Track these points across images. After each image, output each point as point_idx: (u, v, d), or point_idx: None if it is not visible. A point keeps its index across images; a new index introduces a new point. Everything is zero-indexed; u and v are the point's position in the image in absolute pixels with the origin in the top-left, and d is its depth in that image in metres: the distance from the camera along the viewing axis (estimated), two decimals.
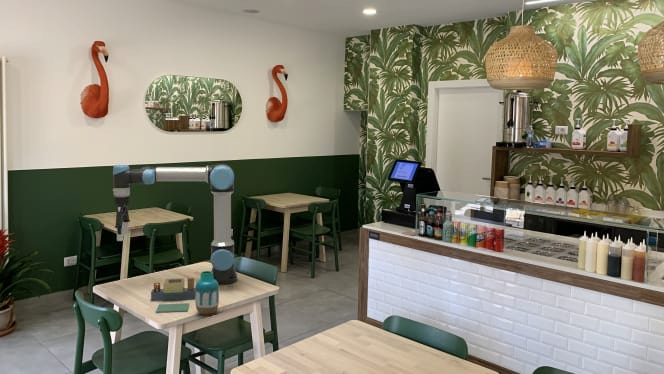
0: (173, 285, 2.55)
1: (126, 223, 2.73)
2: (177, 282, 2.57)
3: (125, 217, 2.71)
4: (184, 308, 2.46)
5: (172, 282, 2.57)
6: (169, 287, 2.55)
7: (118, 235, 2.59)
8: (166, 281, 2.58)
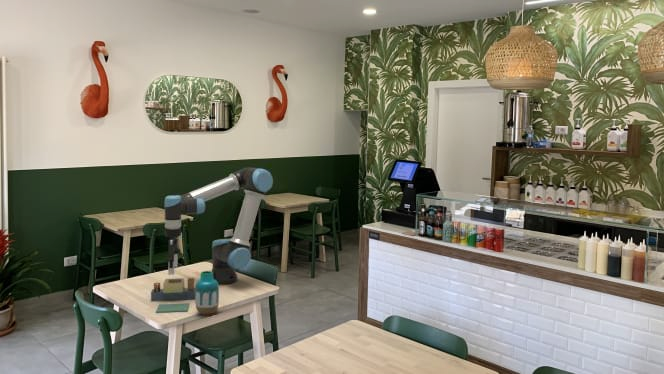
0: (173, 285, 2.55)
1: (175, 255, 2.64)
2: (177, 282, 2.57)
3: (175, 249, 2.63)
4: (184, 308, 2.46)
5: (172, 282, 2.57)
6: (169, 287, 2.55)
7: (170, 269, 2.51)
8: (166, 281, 2.58)
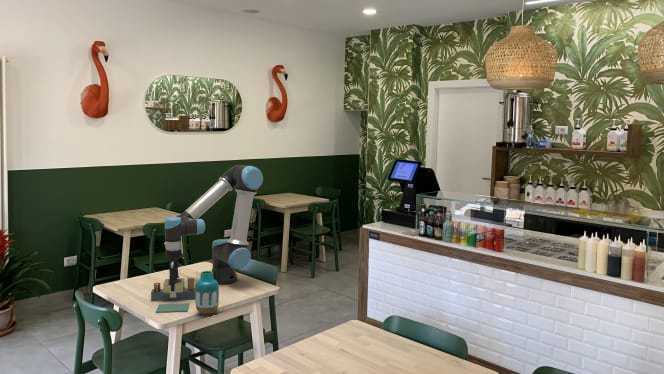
0: None
1: None
2: (177, 282, 2.57)
3: (175, 272, 2.62)
4: (184, 308, 2.46)
5: None
6: (169, 287, 2.55)
7: (171, 292, 2.55)
8: (166, 281, 2.58)
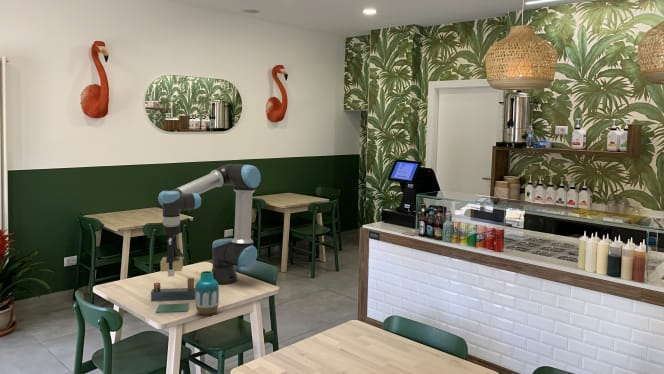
0: None
1: None
2: (175, 260, 2.42)
3: (173, 250, 2.47)
4: (184, 308, 2.46)
5: None
6: (166, 265, 2.40)
7: (169, 270, 2.40)
8: (163, 259, 2.43)
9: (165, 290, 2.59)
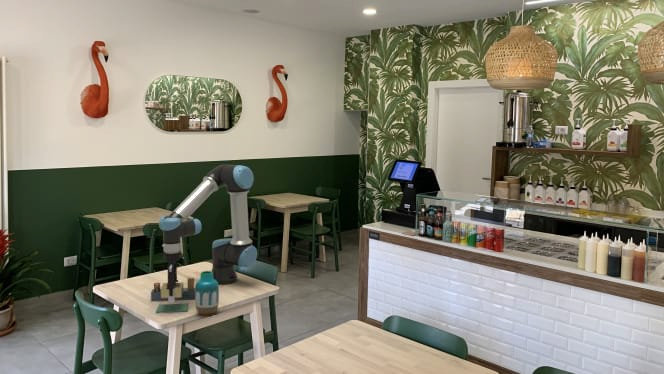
0: None
1: None
2: (175, 287, 2.43)
3: (174, 276, 2.49)
4: (184, 308, 2.46)
5: None
6: (167, 291, 2.41)
7: (169, 297, 2.41)
8: (164, 285, 2.45)
9: None
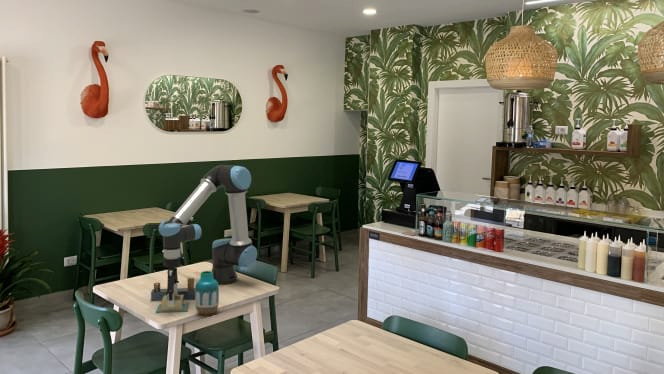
0: None
1: (175, 285, 2.52)
2: (175, 299, 2.44)
3: (174, 278, 2.50)
4: (184, 308, 2.46)
5: None
6: (167, 304, 2.42)
7: (169, 301, 2.39)
8: (164, 298, 2.45)
9: (165, 290, 2.59)
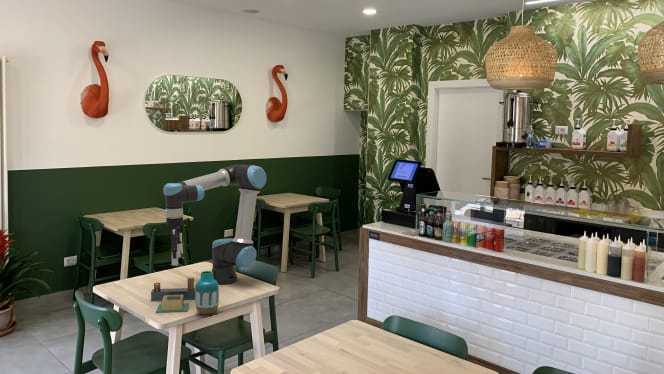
0: (172, 302, 2.42)
1: (178, 245, 2.55)
2: (175, 299, 2.44)
3: (177, 239, 2.53)
4: (184, 308, 2.46)
5: (171, 299, 2.44)
6: (167, 304, 2.42)
7: (173, 259, 2.42)
8: (164, 298, 2.45)
9: (165, 290, 2.59)
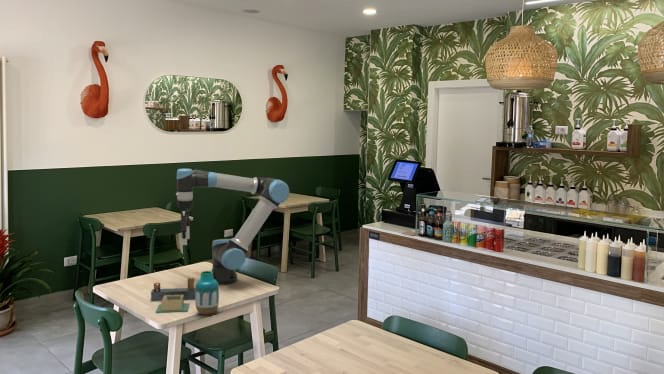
0: (172, 302, 2.42)
1: (187, 227, 2.72)
2: (175, 299, 2.44)
3: (187, 221, 2.70)
4: (184, 308, 2.46)
5: (171, 299, 2.44)
6: (167, 304, 2.42)
7: (182, 239, 2.58)
8: (164, 298, 2.45)
9: (165, 290, 2.59)
